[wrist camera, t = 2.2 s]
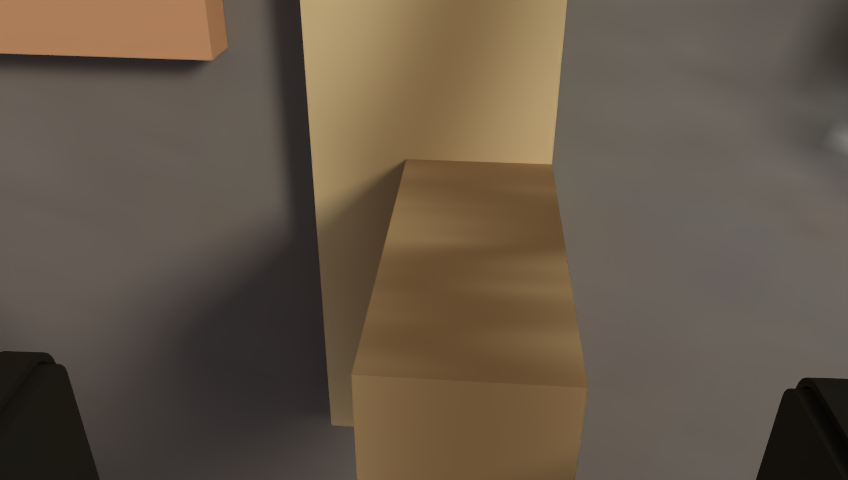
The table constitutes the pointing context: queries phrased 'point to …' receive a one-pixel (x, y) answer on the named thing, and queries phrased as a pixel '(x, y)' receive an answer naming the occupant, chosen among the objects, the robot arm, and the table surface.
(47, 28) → the tile
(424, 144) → the tan l-shaped bookend
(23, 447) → the robot arm
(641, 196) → the table surface
